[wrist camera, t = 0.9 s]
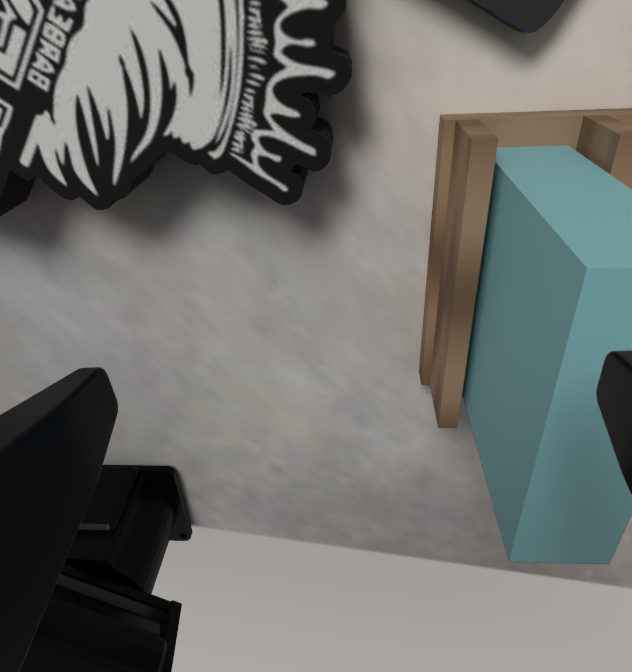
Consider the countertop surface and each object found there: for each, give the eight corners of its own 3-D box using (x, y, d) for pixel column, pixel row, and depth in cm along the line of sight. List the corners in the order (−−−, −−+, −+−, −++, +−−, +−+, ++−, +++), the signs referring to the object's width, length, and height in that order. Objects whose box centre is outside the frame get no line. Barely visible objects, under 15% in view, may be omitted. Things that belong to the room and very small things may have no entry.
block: (520, 368, 24) (609, 564, 16) (455, 368, 24) (508, 561, 16) (568, 145, 19) (742, 266, 10) (483, 148, 19) (586, 268, 11)
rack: (688, 372, 25) (740, 430, 22) (419, 372, 26) (428, 427, 23) (806, 102, 18) (906, 126, 15) (440, 114, 19) (458, 139, 16)
